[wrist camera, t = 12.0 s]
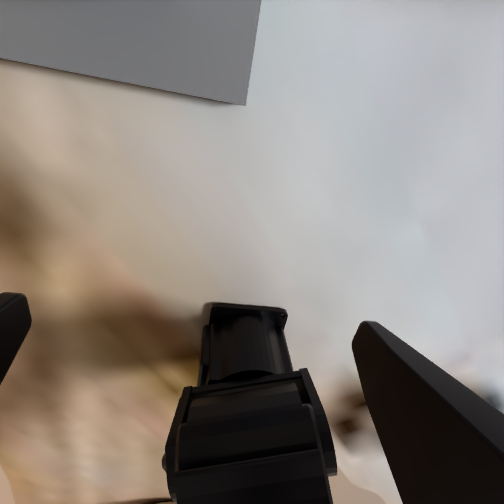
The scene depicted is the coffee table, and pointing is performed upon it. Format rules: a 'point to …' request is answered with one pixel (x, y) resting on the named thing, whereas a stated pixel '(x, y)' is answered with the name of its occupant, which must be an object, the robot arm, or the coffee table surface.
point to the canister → (167, 503)
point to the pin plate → (139, 41)
